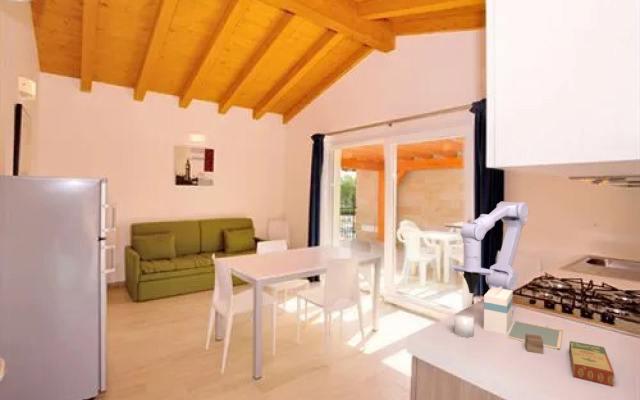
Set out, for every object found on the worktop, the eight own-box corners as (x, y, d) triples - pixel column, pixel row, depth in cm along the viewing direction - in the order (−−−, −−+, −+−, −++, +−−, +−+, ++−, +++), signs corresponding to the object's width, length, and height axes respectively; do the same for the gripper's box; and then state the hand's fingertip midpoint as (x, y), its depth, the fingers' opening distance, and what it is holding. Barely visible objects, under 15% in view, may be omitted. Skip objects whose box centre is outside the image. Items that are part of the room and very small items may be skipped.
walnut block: (525, 346, 106) (525, 333, 106) (540, 348, 105) (540, 335, 105) (527, 351, 103) (527, 338, 102) (543, 354, 101) (543, 341, 101)
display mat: (515, 321, 125) (515, 320, 125) (562, 330, 117) (562, 330, 117) (507, 337, 112) (507, 337, 112) (559, 350, 103) (559, 349, 103)
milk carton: (490, 318, 128) (491, 283, 128) (512, 323, 124) (512, 287, 123) (483, 329, 119) (484, 292, 118) (506, 334, 114) (507, 295, 114)
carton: (572, 378, 89) (572, 362, 89) (568, 353, 102) (568, 339, 102) (614, 388, 84) (614, 371, 84) (604, 360, 98) (604, 345, 98)
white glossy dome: (457, 328, 119) (457, 312, 119) (475, 333, 116) (475, 315, 115) (451, 334, 114) (452, 317, 114) (471, 339, 111) (471, 321, 111)
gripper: (448, 255, 127) (448, 291, 128) (491, 260, 118) (491, 299, 119) (454, 252, 133) (454, 287, 133) (495, 257, 124) (495, 294, 124)
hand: (471, 292), depth 126 cm, fingers closed
